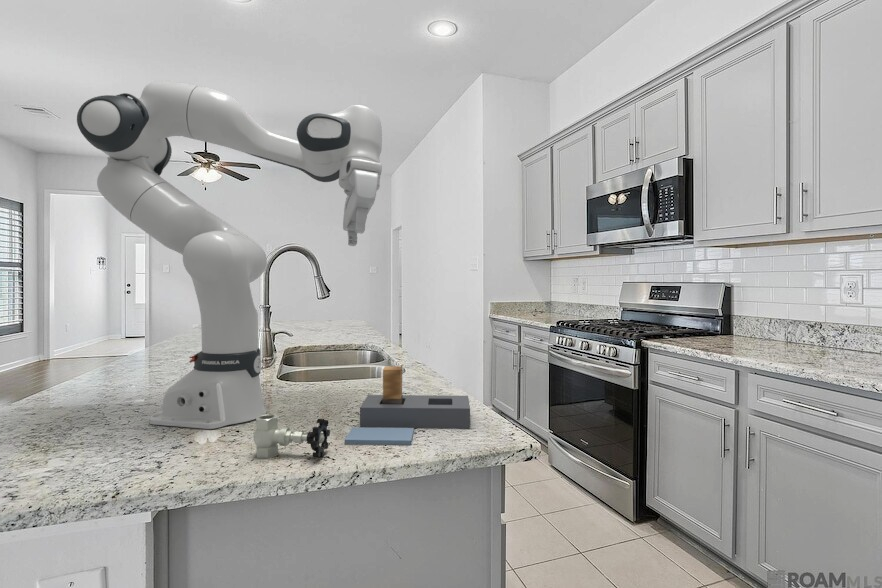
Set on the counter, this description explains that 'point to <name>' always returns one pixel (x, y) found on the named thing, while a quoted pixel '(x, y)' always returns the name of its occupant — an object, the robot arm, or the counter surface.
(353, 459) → the counter surface
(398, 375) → the plug
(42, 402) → the counter surface
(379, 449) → the counter surface
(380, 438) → the pad
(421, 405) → the holder
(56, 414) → the counter surface
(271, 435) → the valve
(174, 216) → the robot arm
